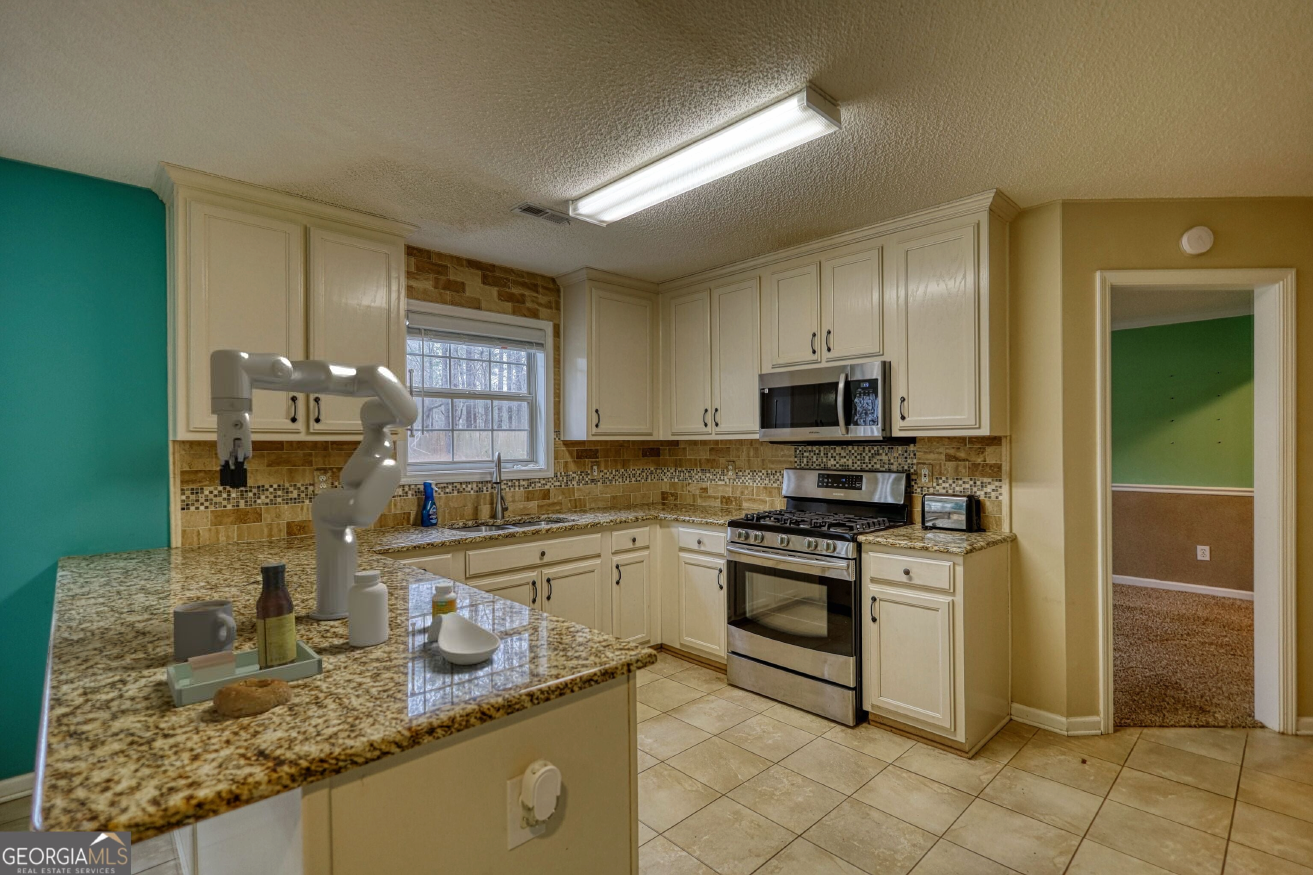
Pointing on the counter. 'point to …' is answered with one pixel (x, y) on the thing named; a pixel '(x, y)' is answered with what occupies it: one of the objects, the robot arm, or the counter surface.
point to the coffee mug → (203, 628)
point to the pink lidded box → (211, 667)
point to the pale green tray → (241, 674)
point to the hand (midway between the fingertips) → (233, 486)
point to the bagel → (251, 696)
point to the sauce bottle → (275, 620)
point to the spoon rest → (462, 639)
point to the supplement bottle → (443, 599)
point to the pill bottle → (367, 610)
